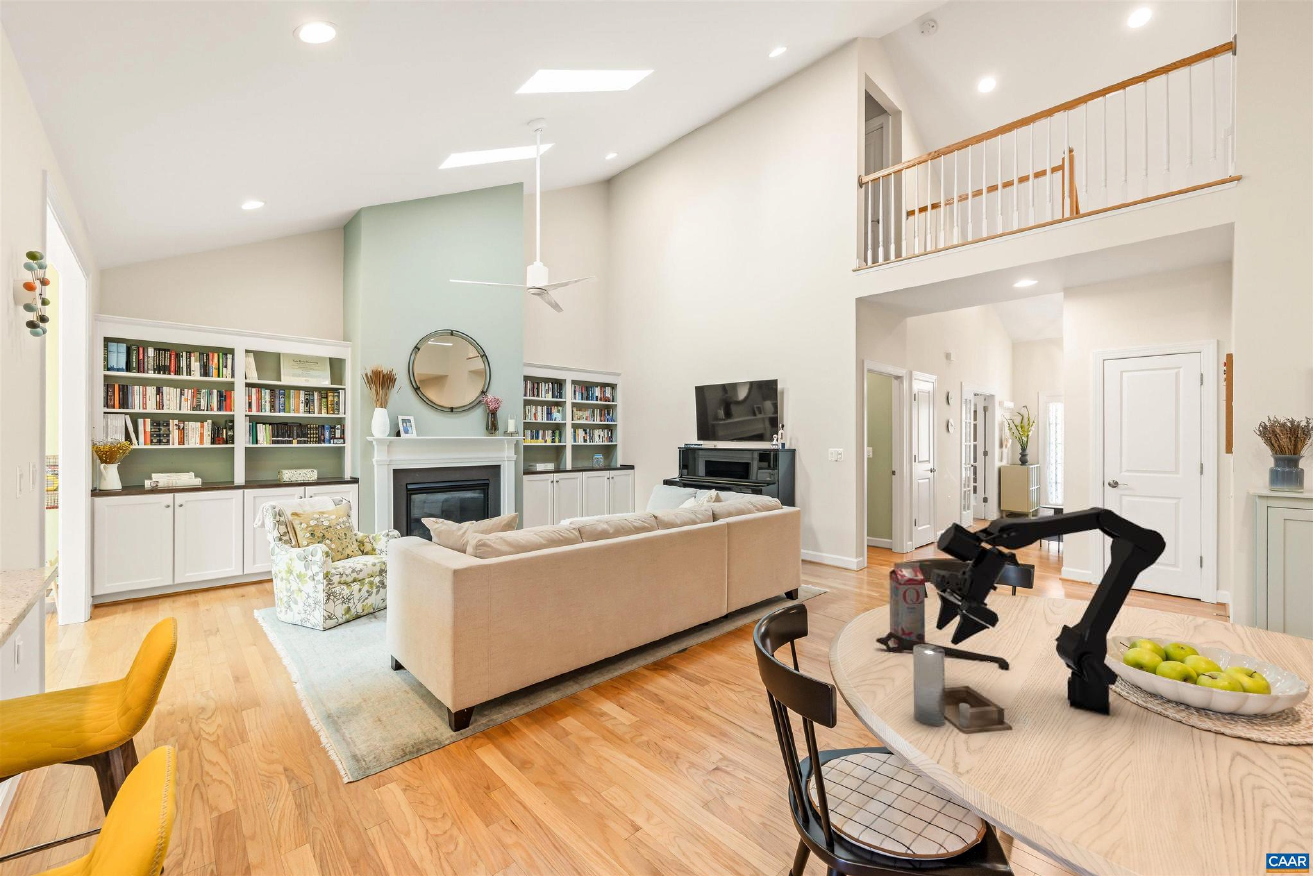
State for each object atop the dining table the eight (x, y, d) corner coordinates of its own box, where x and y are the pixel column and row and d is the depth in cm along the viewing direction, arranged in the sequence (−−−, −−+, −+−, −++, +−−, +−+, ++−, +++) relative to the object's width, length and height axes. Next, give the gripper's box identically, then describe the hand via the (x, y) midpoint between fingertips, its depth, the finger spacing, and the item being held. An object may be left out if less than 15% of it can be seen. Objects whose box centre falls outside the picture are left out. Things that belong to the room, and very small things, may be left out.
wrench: (1009, 679, 138) (875, 654, 149) (1005, 672, 142) (875, 648, 153) (1010, 657, 138) (876, 633, 149) (1006, 651, 142) (876, 628, 153)
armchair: (969, 700, 122) (969, 679, 122) (1012, 729, 110) (1011, 705, 110) (926, 704, 121) (925, 682, 121) (964, 733, 109) (964, 709, 109)
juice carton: (925, 648, 152) (924, 565, 152) (899, 648, 152) (898, 565, 152) (914, 639, 159) (913, 560, 159) (889, 639, 159) (889, 560, 159)
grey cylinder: (933, 711, 118) (933, 643, 118) (951, 725, 112) (950, 653, 112) (908, 714, 117) (907, 645, 117) (924, 727, 111) (924, 655, 111)
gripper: (932, 546, 133) (898, 604, 134) (963, 564, 114) (923, 631, 115) (978, 570, 131) (943, 629, 133) (1017, 592, 113) (976, 660, 114)
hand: (945, 636), depth 124 cm, fingers open, 9 cm apart
